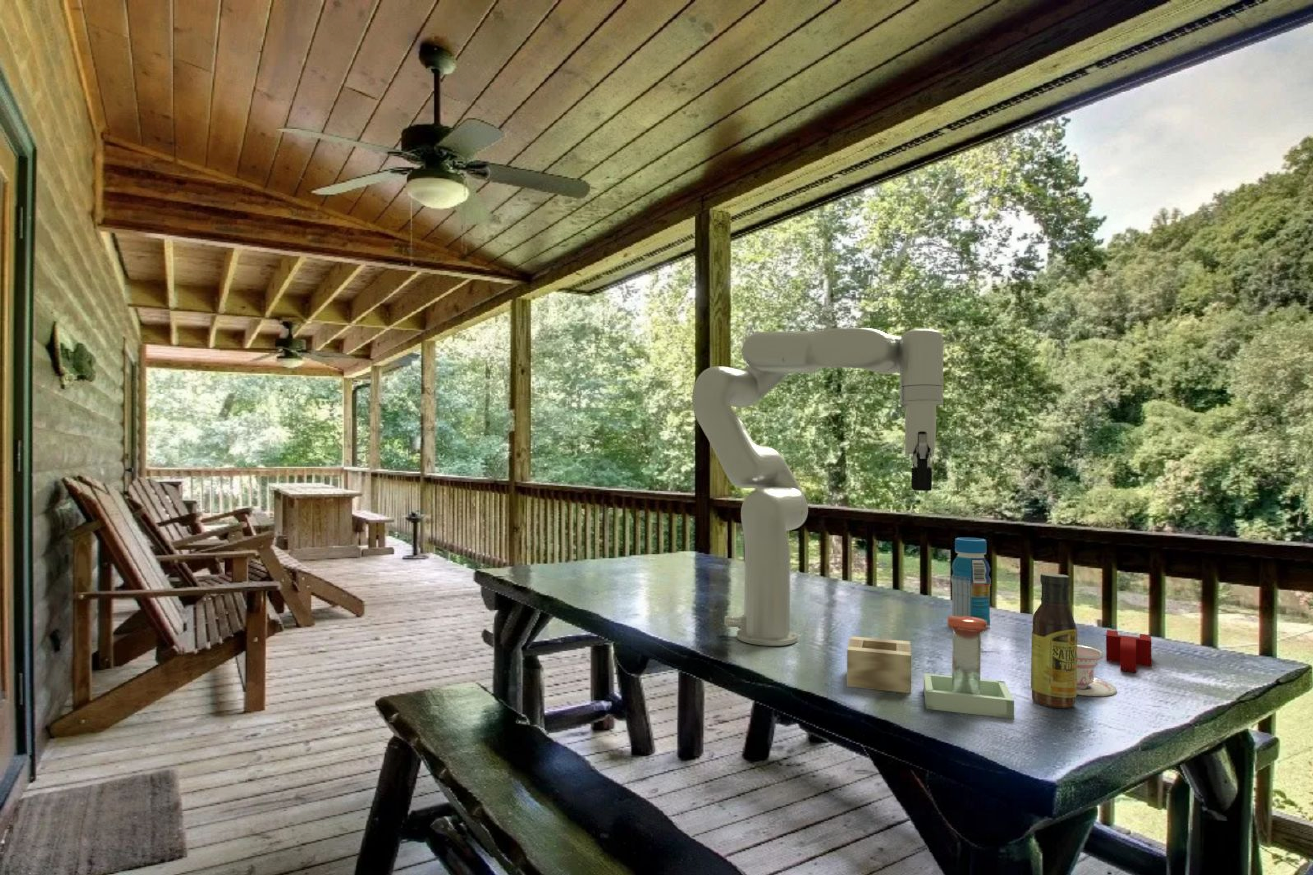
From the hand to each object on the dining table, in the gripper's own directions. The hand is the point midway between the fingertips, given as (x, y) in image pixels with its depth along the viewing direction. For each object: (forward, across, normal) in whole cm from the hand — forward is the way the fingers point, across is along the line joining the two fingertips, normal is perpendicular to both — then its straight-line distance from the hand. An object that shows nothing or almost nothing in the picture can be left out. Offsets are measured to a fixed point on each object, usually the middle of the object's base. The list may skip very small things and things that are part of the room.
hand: (921, 489), depth 132 cm
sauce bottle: (+32, +14, +19) cm, 40 cm away
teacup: (+33, +2, +24) cm, 41 cm away
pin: (+32, +19, +6) cm, 37 cm away
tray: (+32, +19, +6) cm, 38 cm away
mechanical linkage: (+33, -17, +37) cm, 53 cm away
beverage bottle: (+32, -41, +12) cm, 54 cm away
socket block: (+32, +12, -7) cm, 35 cm away
